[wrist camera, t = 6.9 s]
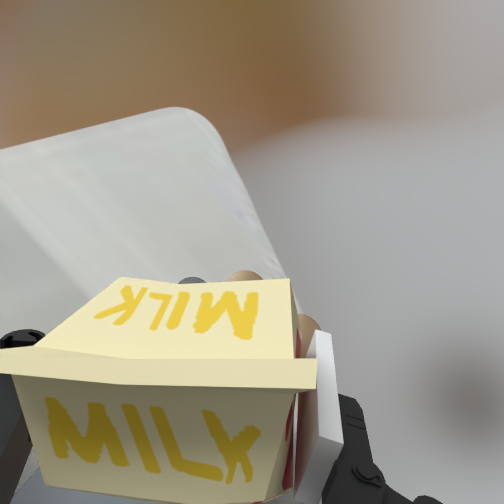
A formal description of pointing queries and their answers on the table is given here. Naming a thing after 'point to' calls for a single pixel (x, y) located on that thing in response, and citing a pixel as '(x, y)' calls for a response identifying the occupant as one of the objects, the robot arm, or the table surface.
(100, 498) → the mat
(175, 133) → the table surface
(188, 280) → the silver metal dome
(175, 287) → the milk carton
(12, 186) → the table surface
